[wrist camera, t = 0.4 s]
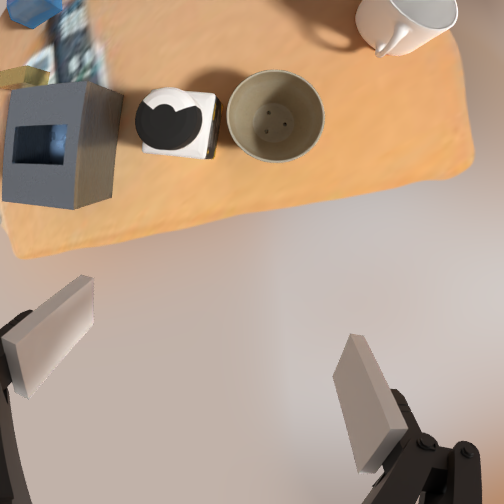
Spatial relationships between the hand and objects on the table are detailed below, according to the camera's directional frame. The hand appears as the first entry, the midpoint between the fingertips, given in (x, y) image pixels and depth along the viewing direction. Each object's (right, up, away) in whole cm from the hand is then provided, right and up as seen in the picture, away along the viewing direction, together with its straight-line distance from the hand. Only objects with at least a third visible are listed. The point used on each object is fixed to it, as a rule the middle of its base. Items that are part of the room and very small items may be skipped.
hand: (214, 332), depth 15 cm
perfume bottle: (-31, +43, +17) cm, 56 cm away
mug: (+20, +33, +18) cm, 42 cm away
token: (-31, +30, +20) cm, 48 cm away
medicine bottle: (-6, +19, +23) cm, 30 cm away
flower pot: (+4, +20, +22) cm, 30 cm away
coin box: (-22, +19, +23) cm, 37 cm away
